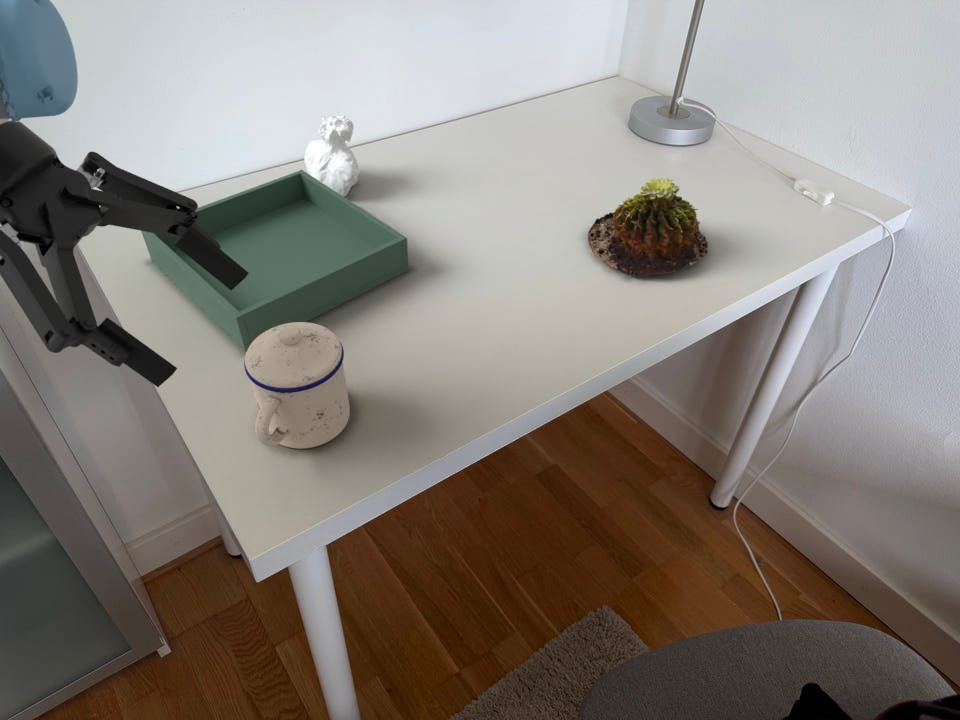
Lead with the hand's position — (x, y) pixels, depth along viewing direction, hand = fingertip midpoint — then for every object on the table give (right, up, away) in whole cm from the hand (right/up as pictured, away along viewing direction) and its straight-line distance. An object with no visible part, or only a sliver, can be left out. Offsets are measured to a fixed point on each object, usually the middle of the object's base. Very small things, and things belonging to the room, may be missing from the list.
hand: (207, 326), depth 62 cm
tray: (-1, +9, +27) cm, 29 cm away
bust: (+3, +24, +44) cm, 50 cm away
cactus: (+48, +13, +33) cm, 59 cm away
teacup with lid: (+7, -10, +7) cm, 14 cm away
